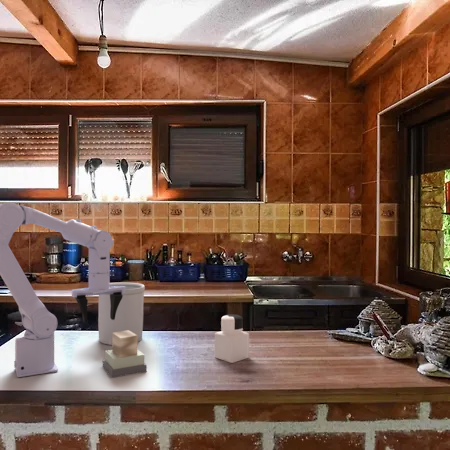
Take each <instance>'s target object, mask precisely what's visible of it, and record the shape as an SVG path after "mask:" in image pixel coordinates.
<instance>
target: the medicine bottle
mask: <svg viewBox="0 0 450 450" xmlns="http://www.w3.org/2000/svg"><path fill="white" fill-rule="evenodd" d="M220 320H221V321H220V325H221V328H220V330H221V331H218V332H214V358H215V359H219V360H222V361H224V362H227V363H230V364H233V363H236V362H237V363H238V362H240V361H243V360H247V359H249V358H250V333H249V332H247V331H244V329H243V327H244V325H243V323H244V321H243V316H241V315H239V314H231V313H230V314H225V315H223V316H222V317H221V319H220Z"/></svg>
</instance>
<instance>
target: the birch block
mask: <svg viewBox="0 0 450 450" xmlns="http://www.w3.org/2000/svg"><path fill="white" fill-rule="evenodd" d="M111 346H112V347H111V350H112V352H114V353H115V354H116V355H118V356H119V357H120V358H122V357H127V356H133V355H137V349H138V342H137V335H136V334H134V333H132V332H131V331H129V330H126V331H120V332H114V333H112V345H111Z"/></svg>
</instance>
